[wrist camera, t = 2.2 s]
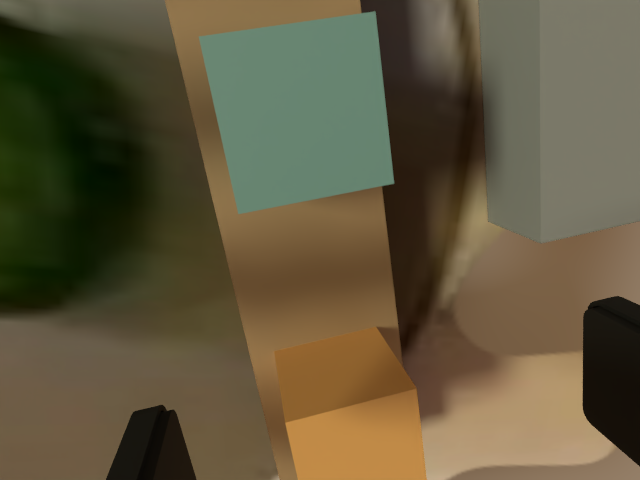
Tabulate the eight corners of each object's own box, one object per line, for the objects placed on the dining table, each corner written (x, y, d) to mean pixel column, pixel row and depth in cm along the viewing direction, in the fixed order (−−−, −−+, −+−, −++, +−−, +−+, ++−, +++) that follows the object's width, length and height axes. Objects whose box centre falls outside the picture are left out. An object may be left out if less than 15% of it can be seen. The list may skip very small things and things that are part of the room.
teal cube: (209, 59, 15) (198, 36, 10) (337, 40, 15) (375, 11, 11) (238, 188, 16) (238, 214, 12) (354, 166, 17) (394, 183, 12)
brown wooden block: (171, -8, 17) (155, -38, 14) (331, -28, 18) (352, -61, 15) (276, 440, 24) (283, 493, 20) (389, 410, 24) (413, 456, 21)
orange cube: (273, 350, 18) (285, 422, 14) (375, 326, 19) (416, 388, 15) (292, 437, 20) (308, 526, 15) (387, 411, 20) (427, 490, 16)
